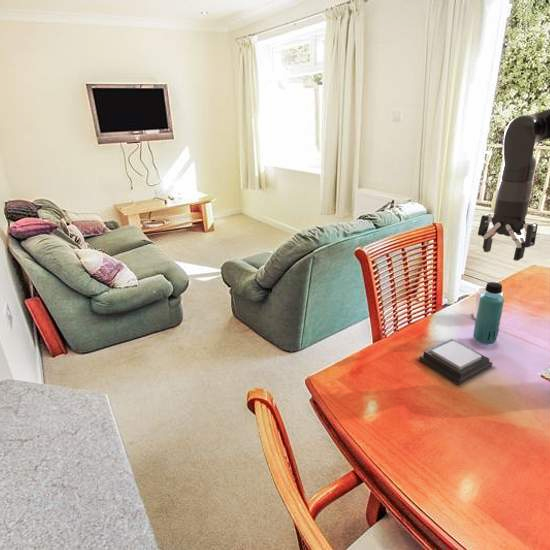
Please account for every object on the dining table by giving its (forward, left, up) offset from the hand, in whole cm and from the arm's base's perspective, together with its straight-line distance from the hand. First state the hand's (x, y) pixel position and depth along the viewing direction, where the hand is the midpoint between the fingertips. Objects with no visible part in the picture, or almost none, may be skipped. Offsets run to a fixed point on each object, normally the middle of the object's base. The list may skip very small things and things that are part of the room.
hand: (501, 255), depth 104 cm
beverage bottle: (0, 0, -29) cm, 29 cm away
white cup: (-14, -9, -29) cm, 33 cm away
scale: (+16, +2, -29) cm, 33 cm away
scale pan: (+16, +2, -27) cm, 31 cm away
